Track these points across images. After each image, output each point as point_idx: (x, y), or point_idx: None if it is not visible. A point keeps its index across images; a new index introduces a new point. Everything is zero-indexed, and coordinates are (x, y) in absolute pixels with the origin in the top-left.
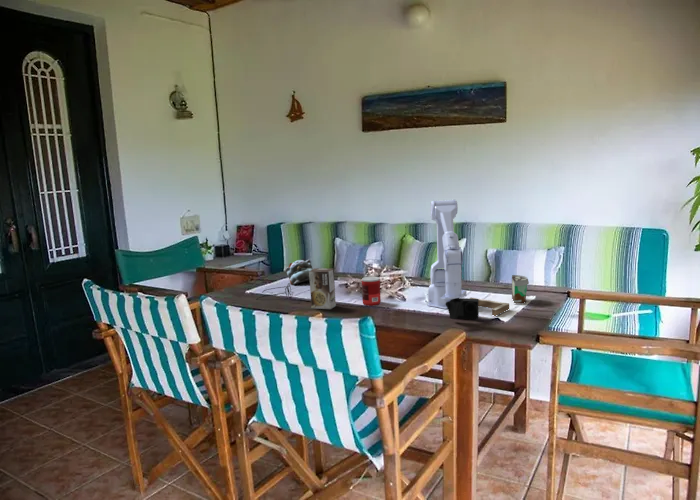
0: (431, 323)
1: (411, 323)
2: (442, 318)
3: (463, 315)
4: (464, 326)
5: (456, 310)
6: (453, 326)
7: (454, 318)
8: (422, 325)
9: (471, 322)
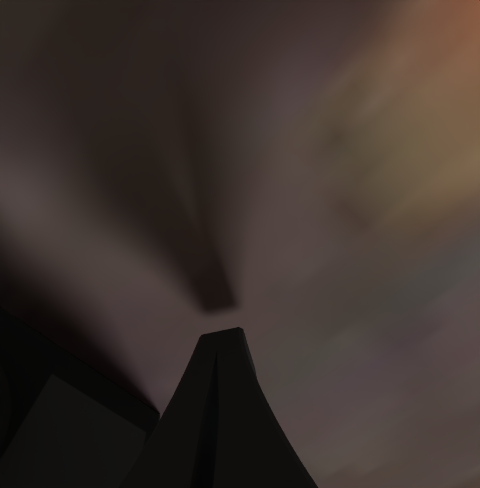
0: (385, 396)
1: (470, 454)
2: None
3: (49, 378)
4: (241, 159)
5: (248, 421)
6: (332, 238)
7: (245, 339)
8: (473, 397)
9: (63, 221)
